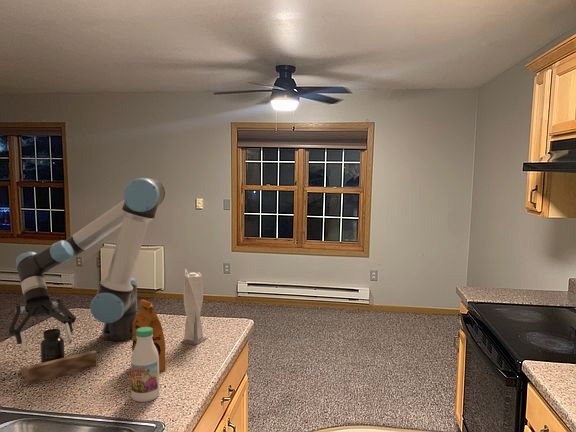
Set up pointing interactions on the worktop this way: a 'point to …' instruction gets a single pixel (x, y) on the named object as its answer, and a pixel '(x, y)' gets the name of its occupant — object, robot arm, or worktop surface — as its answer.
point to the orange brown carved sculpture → (150, 319)
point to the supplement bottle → (52, 346)
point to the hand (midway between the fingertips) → (48, 346)
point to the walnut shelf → (59, 367)
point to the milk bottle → (144, 367)
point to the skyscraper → (193, 308)
